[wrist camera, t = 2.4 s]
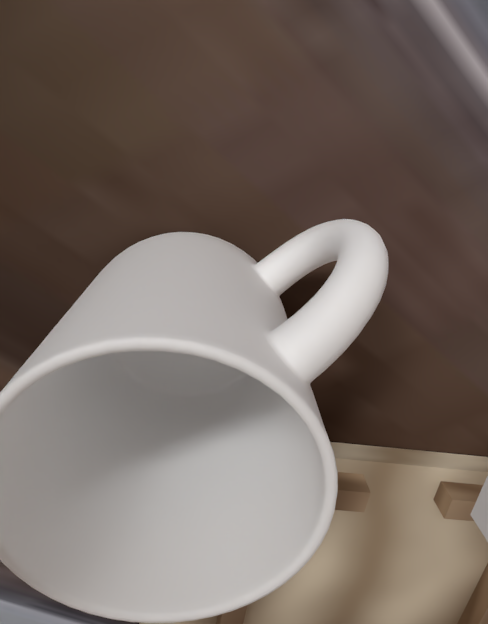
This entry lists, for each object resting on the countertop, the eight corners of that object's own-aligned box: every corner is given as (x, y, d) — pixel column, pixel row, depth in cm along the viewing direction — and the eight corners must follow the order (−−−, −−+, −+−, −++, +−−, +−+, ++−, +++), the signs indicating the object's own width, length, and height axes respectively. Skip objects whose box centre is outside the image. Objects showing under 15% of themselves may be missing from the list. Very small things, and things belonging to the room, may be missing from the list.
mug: (272, 117, 17) (341, 105, 7) (389, 280, 19) (552, 430, 10) (50, 310, 19) (-120, 492, 10) (181, 430, 22) (149, 666, 12)
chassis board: (135, 679, 29) (128, 724, 27) (160, 425, 22) (153, 459, 19) (454, 691, 31) (472, 735, 29) (577, 465, 24) (614, 500, 22)
